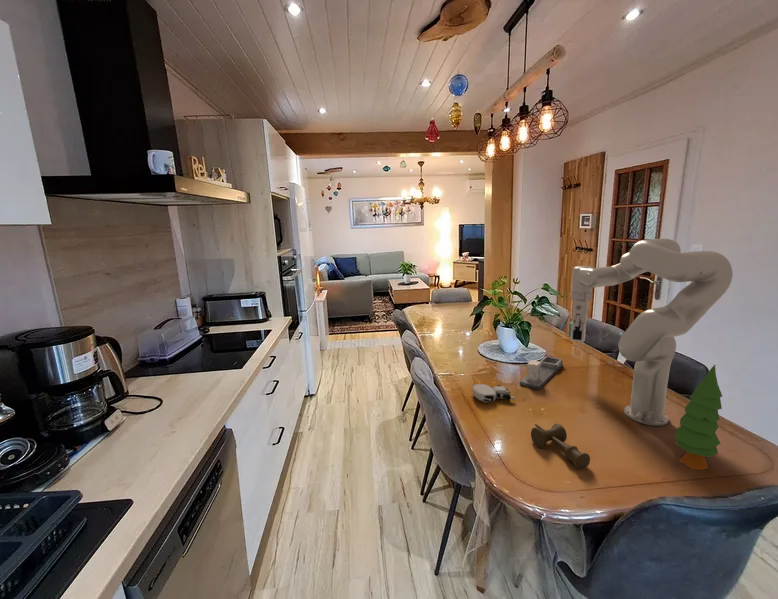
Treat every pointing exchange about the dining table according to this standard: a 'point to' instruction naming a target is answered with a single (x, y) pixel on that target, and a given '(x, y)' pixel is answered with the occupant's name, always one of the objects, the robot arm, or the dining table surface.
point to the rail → (541, 371)
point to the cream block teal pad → (571, 328)
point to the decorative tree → (700, 423)
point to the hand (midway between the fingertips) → (577, 337)
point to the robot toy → (490, 392)
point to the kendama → (560, 444)
